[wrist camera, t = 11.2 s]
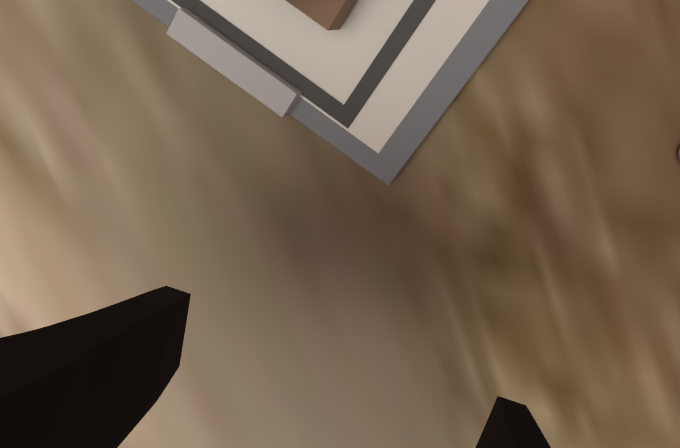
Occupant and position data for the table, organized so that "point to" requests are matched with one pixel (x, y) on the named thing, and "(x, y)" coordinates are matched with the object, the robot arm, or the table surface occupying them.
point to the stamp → (325, 11)
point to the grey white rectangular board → (346, 64)
